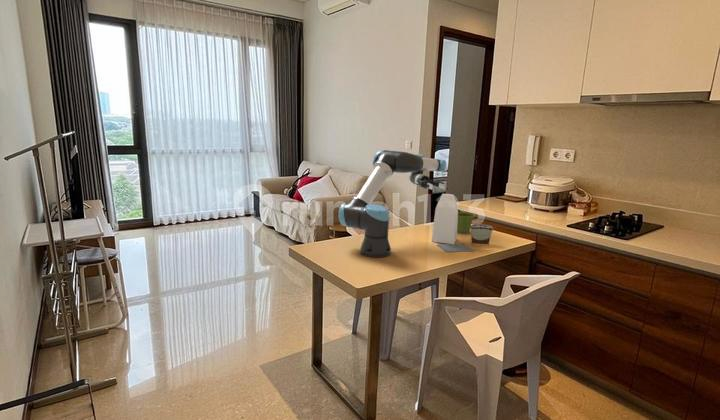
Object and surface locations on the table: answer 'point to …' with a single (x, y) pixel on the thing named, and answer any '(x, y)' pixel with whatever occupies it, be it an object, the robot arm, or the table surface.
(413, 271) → the table surface
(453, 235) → the milk
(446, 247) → the mat
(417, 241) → the table surface
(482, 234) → the food container
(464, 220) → the plant pot
